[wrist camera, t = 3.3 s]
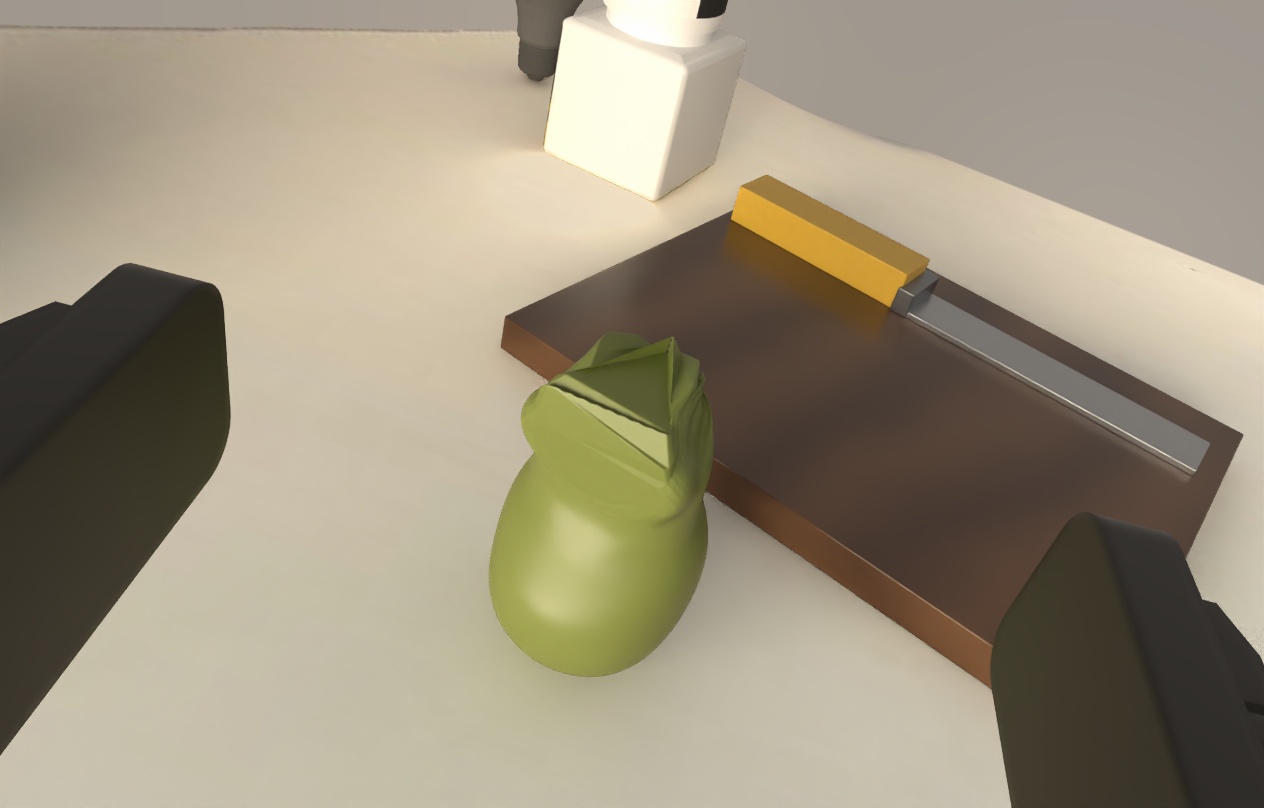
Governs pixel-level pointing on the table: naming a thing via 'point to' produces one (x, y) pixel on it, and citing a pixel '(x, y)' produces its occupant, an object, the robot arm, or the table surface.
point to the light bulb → (541, 34)
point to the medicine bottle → (643, 91)
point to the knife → (945, 311)
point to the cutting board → (881, 428)
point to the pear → (606, 508)
